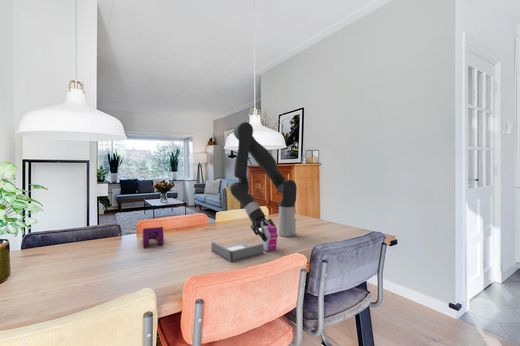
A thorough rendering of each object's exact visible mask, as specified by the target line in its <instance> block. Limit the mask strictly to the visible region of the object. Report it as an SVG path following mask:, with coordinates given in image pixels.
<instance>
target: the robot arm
mask: <svg viewBox="0 0 520 346" xmlns="http://www.w3.org/2000/svg"><path fill="white" fill-rule="evenodd" d="M232 131H233V136H234V137H235V138H236V140H238V147H237V153H236V156H235V161H234V168H233V169H234V170H233V176H234V177H235V178H236V179H238V182H233V183H230V186H229V190H230V194H231V195H232V196H233V198H234V199H236V200H237V201H238V203H240V204H241V206H242V208H244V211H245V212H246V215H247V216H248V218H249V220H250V222H251V224H250V228H251V229H252V231H253V233H254V235H255V236H260V238H261V241H262V240H263V241H264V242H265V241H267V237H266V236H265V234H264V233H263V226H268V225H273V226H274V227H276V228H277V226H276V225H275V223H274V221H273V220H272V219H271V218H268V219H266V215H265V213H264V212H263V210H262V209H261V206H260V205H259V204H258V203H257V202H256V200H255V199H254V197H253V196H252V195H251V194H250V193H248V192H249V189H250V187H249V180H248V163H249V154H250V155H251V157H252V158H253V159H254V161H255V162H256V164H257V165H258V167H260V168H261V169H262V171H263V172H264V173H265V174H266V176H267V177H268V178H269V180H271V182H272V184H273V185H274V187H275V188H276V190H277V191H278V193H280V194H281V195H282V199H281V200H279V202H278V234H277V238H279V237H278V236H280V237H284V238H285V237H286V238H288V237H289V238H290V237H294V236H295V235H296V225H297V224H296V222H297V221H296V218H295V214H296V213H295V212H296V211H295V208H296V207H295V205H296V201H297V183H296V182H295V180H294V179H287V178H286V177H284V175H283V174H282V173H281V172H280V170H279V168H278V165H277V162H276V159H275V158H274V156H273V155H272V154H271V153H270V151H269V150H268V149H267V148H266V147H264V146H263V145H262V144H261V143H259V142H258V141H257V140H256V138H255V137H254V136H253V135H254V134H253V133H254V127H253V125H252V124H251V123H249V122H247V121H243V122H239V123H237V124H236V125H234V127H233V130H232Z"/></svg>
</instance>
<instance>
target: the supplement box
mask: <svg viewBox="0 0 520 346" xmlns="http://www.w3.org/2000/svg"><path fill="white" fill-rule="evenodd" d="M263 233H264V234H265V236H266V237H267V241H265V242H264V241H263V240H262V239H261V244H263V252H264V251H265V252H271V251H277V245H278V244H277V243H278V242H277V241H278V237H277V235H278V227H277V226H276V227H274V226H273V225H268V226H263Z"/></svg>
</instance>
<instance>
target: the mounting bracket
mask: <svg viewBox="0 0 520 346" xmlns="http://www.w3.org/2000/svg"><path fill="white" fill-rule="evenodd" d="M149 238H150V239H156V238H157V245H158V246H162V245H164V238H165V237H164V226H159V227H158V226H157V227H148V228H143V229H142V246H143V248H147V247H148V248H149V246H150V245H149V244H150V243H149V242H150V239H149Z"/></svg>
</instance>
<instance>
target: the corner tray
mask: <svg viewBox="0 0 520 346" xmlns="http://www.w3.org/2000/svg"><path fill="white" fill-rule="evenodd" d="M210 247H211V249H210V250H211V252H213V253H215V254H216V255H218V256H220V257H221V258H222V259H224V260H226V261H228V262H229V263H233V262H236V261H240V260H245V259H247V258H252V257H255V256H258V255H259V256H260V255H263V254H264V250H263V244H262V243H261V244H255V245H249V244H247V243H244V242H237V243H234V244H230V245H229V244H228V245H224V246H223V245H221V244H219V243H217V242H216V241H211V246H210Z"/></svg>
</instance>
